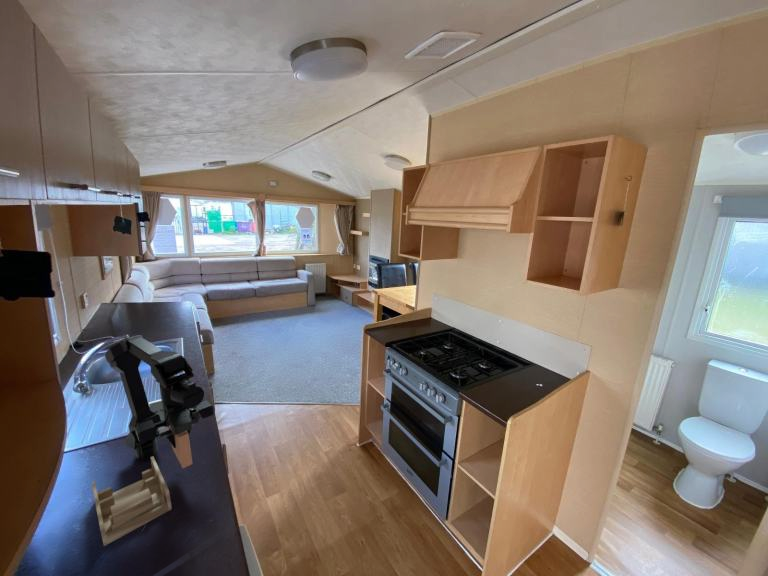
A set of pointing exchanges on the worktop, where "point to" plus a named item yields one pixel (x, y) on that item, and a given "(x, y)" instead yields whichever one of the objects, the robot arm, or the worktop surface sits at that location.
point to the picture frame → (158, 408)
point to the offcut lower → (155, 504)
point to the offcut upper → (131, 506)
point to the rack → (108, 499)
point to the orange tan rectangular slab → (182, 448)
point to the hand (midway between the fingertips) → (180, 445)
